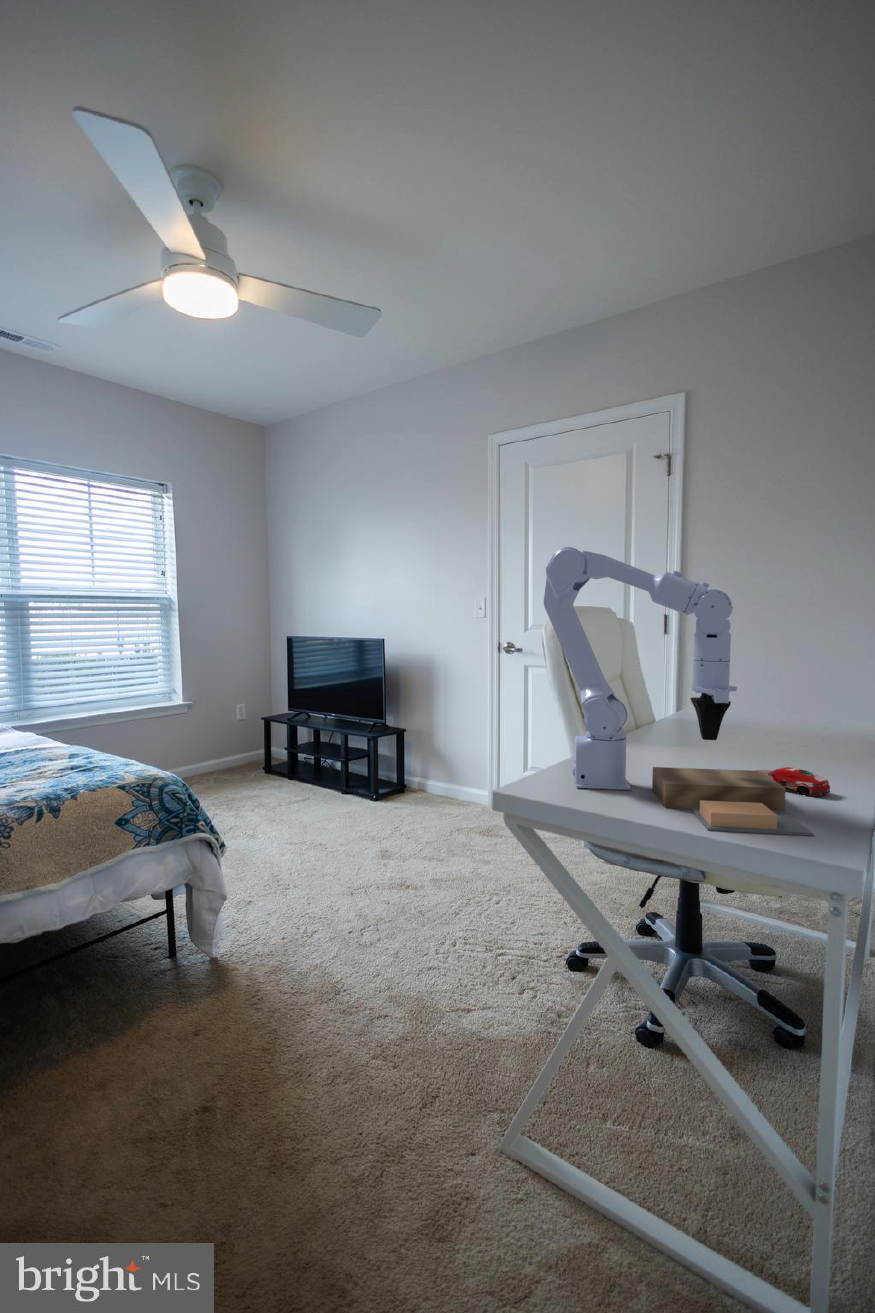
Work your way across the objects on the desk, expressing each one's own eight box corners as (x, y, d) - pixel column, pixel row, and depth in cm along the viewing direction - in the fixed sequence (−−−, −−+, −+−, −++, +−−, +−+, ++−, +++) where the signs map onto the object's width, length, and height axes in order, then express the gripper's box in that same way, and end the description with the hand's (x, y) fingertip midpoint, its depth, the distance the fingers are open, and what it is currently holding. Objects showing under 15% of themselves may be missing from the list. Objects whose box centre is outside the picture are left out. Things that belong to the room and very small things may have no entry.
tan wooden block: (699, 800, 94) (699, 813, 95) (710, 812, 89) (710, 826, 89) (762, 803, 93) (761, 815, 93) (777, 815, 87) (776, 829, 87)
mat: (707, 830, 88) (707, 827, 88) (690, 809, 98) (690, 806, 98) (813, 835, 86) (813, 833, 86) (784, 813, 96) (784, 810, 96)
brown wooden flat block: (664, 807, 99) (665, 783, 98) (652, 789, 109) (652, 767, 109) (784, 813, 96) (785, 788, 95) (759, 793, 106) (760, 770, 106)
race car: (741, 785, 113) (742, 763, 113) (755, 780, 116) (755, 759, 116) (820, 801, 103) (821, 778, 102) (833, 795, 106) (833, 772, 106)
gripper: (750, 664, 96) (747, 749, 97) (724, 657, 110) (722, 732, 111) (702, 663, 97) (700, 747, 98) (683, 657, 111) (681, 730, 112)
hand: (709, 739), depth 105 cm, fingers closed
